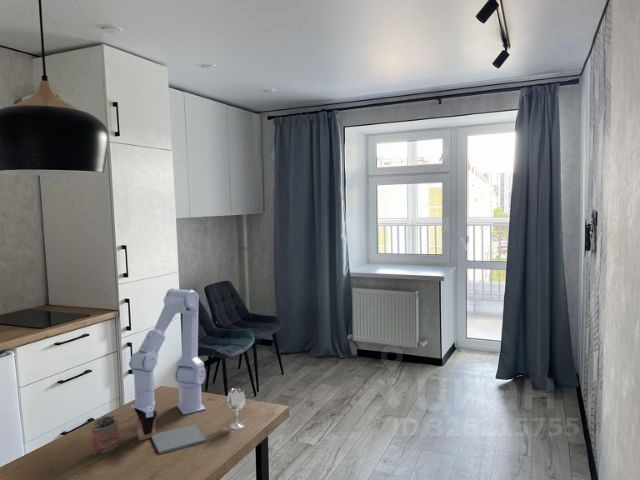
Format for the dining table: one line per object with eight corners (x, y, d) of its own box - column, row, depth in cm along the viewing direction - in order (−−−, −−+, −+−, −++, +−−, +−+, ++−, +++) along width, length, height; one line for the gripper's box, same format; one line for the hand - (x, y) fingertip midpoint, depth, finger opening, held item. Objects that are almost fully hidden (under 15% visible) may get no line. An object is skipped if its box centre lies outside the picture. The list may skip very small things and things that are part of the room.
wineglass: (242, 430, 156) (241, 394, 156) (225, 429, 158) (224, 393, 157) (248, 422, 162) (247, 388, 161) (232, 421, 163) (231, 386, 162)
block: (137, 435, 154) (136, 417, 154) (153, 431, 157) (152, 413, 156) (139, 440, 151) (138, 421, 151) (155, 436, 154) (155, 418, 153)
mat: (150, 437, 153) (150, 435, 153) (195, 426, 160) (194, 424, 160) (159, 454, 142) (159, 451, 142) (206, 441, 149) (205, 439, 149)
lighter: (115, 441, 150) (113, 410, 150) (121, 444, 148) (120, 413, 148) (90, 452, 144) (88, 420, 143) (96, 456, 142) (95, 423, 141)
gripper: (127, 384, 157) (129, 425, 158) (135, 399, 145) (137, 443, 146) (149, 380, 161) (151, 420, 162) (159, 394, 148) (161, 437, 149)
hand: (146, 430), depth 154 cm, fingers closed on block, 4 cm apart
